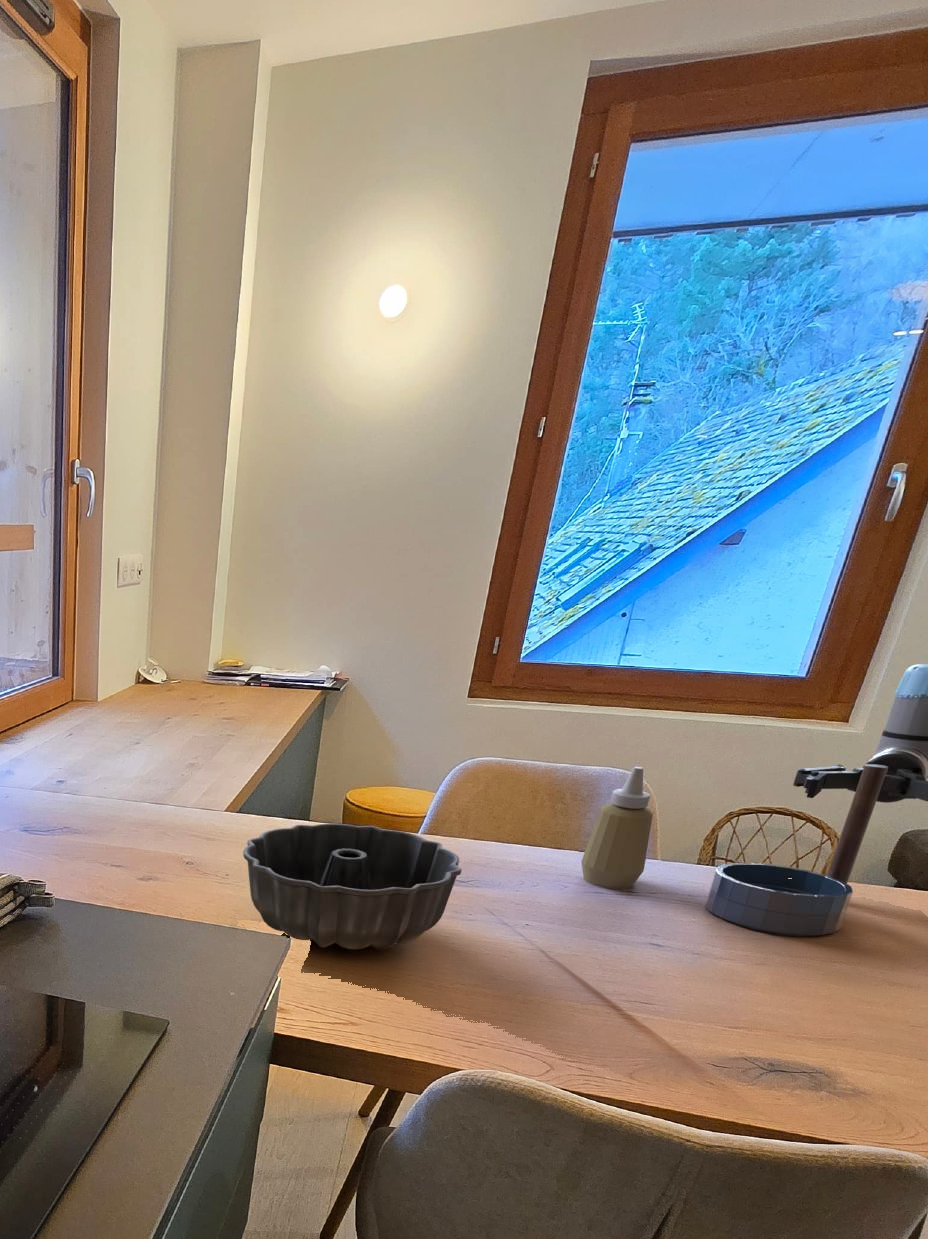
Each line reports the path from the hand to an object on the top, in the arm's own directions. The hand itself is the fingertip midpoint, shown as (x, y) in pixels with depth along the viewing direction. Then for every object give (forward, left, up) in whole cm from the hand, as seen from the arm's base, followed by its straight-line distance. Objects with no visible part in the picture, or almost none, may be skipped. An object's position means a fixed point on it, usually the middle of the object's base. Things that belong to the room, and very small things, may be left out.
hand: (872, 796), depth 134 cm
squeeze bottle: (+2, +33, -14) cm, 36 cm away
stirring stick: (-7, +7, -14) cm, 17 cm away
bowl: (-12, +19, -14) cm, 27 cm away
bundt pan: (-14, +78, -14) cm, 81 cm away
